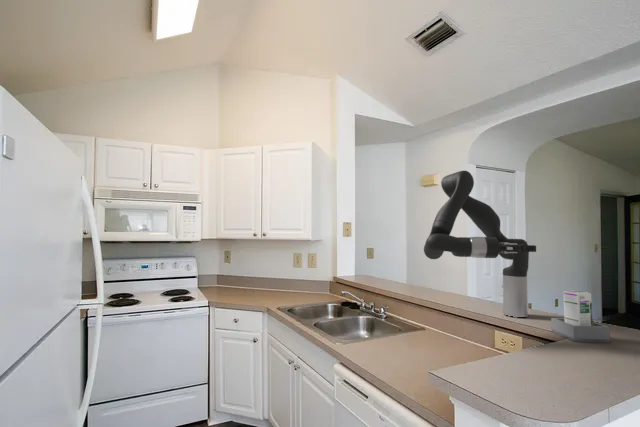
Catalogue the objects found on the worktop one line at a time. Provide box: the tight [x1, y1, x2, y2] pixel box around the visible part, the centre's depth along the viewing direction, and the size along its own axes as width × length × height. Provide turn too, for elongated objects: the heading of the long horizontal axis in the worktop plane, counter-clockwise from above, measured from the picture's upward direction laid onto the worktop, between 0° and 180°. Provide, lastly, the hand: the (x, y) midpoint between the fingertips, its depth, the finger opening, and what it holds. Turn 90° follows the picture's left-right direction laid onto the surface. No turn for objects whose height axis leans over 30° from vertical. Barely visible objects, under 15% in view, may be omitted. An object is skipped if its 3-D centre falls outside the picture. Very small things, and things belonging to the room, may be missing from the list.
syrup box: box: [562, 290, 594, 326], centre depth 121 cm, size 6×6×14 cm
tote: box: [550, 317, 611, 344], centre depth 121 cm, size 12×12×5 cm
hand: (529, 248), depth 125 cm, fingers open, 8 cm apart
